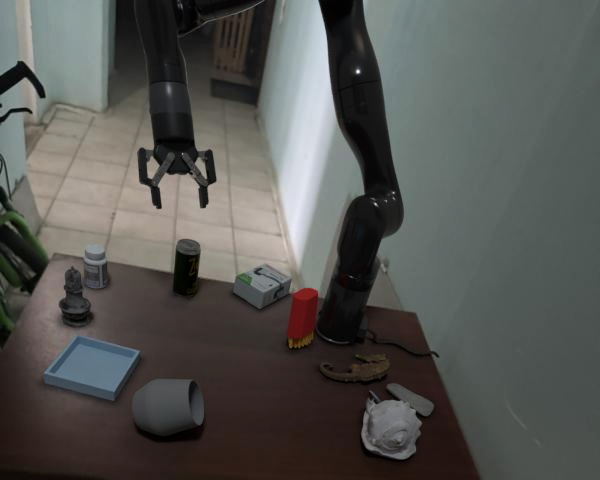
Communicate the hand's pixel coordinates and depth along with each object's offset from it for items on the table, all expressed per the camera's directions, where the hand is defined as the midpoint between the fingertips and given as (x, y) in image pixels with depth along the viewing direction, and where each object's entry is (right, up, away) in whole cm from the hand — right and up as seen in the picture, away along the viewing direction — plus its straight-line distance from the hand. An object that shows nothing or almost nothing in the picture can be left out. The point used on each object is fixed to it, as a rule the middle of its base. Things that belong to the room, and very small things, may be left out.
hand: (181, 208), depth 100 cm
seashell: (+37, -44, -1) cm, 58 cm away
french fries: (+24, -15, +8) cm, 29 cm away
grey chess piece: (-22, -21, +4) cm, 31 cm away
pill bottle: (-22, -11, +14) cm, 29 cm away
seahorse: (+29, -28, +6) cm, 41 cm away
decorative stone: (+47, -35, +10) cm, 60 cm away
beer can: (-4, -12, +20) cm, 23 cm away
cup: (-4, -39, -14) cm, 41 cm away
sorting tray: (-14, -32, -6) cm, 35 cm away
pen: (+45, -45, 0) cm, 63 cm away
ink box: (+11, -12, +21) cm, 26 cm away
